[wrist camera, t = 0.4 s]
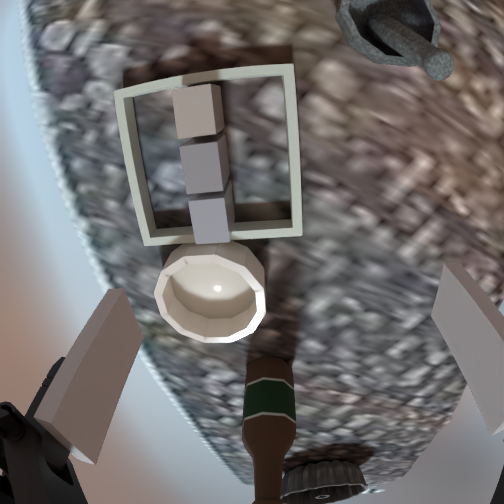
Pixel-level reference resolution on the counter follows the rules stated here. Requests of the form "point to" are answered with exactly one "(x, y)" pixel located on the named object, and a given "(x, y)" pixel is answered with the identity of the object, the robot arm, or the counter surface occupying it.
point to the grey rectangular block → (205, 163)
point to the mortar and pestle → (396, 33)
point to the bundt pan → (322, 483)
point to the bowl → (212, 291)
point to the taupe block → (198, 110)
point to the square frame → (136, 168)
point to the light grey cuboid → (212, 215)
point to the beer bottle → (268, 423)
